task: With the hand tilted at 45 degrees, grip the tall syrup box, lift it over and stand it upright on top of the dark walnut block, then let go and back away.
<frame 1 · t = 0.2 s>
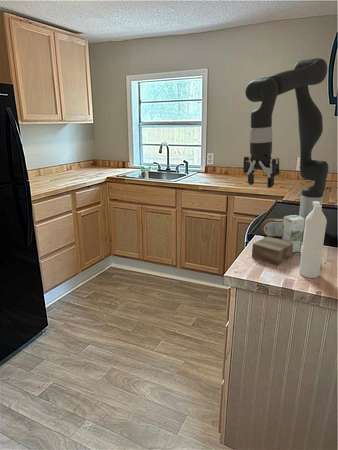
hand: (260, 185, 119), 28 cm above the counter, tool pointing down, fingers open, 8 cm apart
syrup box: (290, 250, 133), on the counter
water bottle: (308, 273, 115), on the counter
walnut block: (271, 257, 128), on the counter
tin: (277, 236, 149), on the counter
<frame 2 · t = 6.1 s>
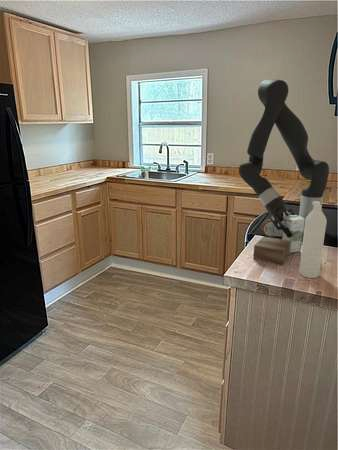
hand: (295, 234, 130), 8 cm above the counter, tool tilted 45°, fingers closed on syrup box, 7 cm apart
syrup box: (290, 250, 133), on the counter, touching gripper
when the fingers open (15 cm above the counter, at t = 11.6 s): syrup box drops 2 cm, resting on walnut block.
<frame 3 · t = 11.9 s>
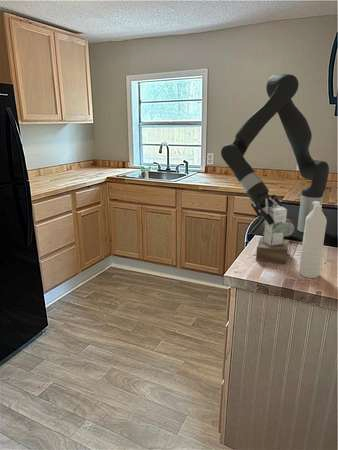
hand: (278, 221, 122), 15 cm above the counter, tool tilted 45°, fingers open, 8 cm apart
syrup box: (272, 243, 126), point 5 cm above the counter, touching gripper, walnut block
walnut block: (271, 257, 128), on the counter, touching syrup box
everything else where it was.
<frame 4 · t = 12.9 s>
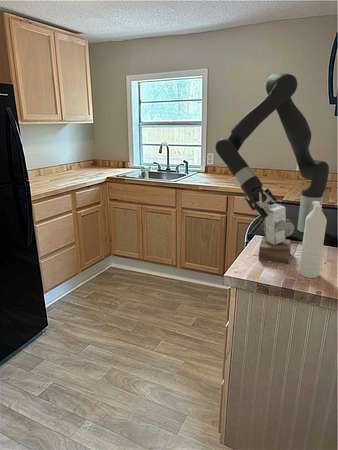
hand: (272, 214, 123), 17 cm above the counter, tool tilted 45°, fingers open, 8 cm apart
syrup box: (275, 241, 127), point 6 cm above the counter, touching gripper
walnut block: (274, 257, 128), on the counter
everything else where it was.
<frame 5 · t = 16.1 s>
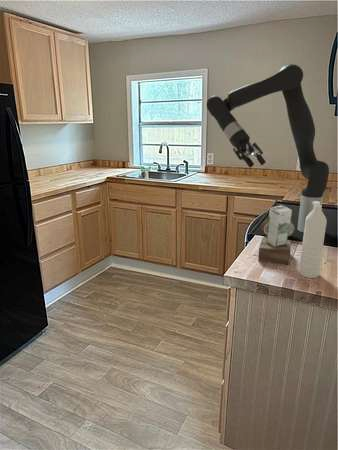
hand: (258, 164, 133), 34 cm above the counter, tool tilted 45°, fingers open, 8 cm apart
syrup box: (276, 243, 126), point 6 cm above the counter
everything else where it was.
at the end: syrup box 0.4 cm off-centre on the walnut block, point 6.2 cm above the walnut block's base; syrup box tilted 5°; the gripper is holding nothing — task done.
